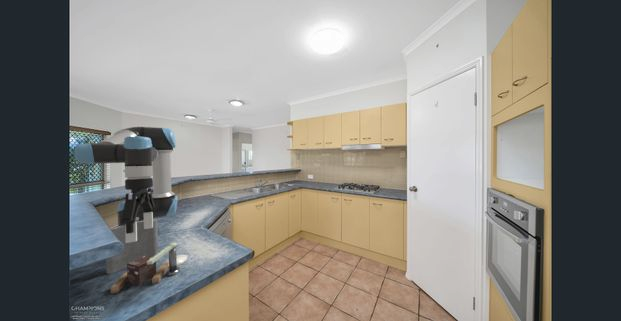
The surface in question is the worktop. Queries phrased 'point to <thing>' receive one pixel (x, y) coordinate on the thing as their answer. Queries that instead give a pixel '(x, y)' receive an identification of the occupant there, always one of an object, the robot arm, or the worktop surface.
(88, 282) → the worktop surface
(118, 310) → the worktop surface
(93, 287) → the worktop surface
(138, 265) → the box
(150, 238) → the hip flask
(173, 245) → the bar
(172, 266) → the latch post
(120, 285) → the cradle
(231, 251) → the worktop surface
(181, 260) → the trivet
